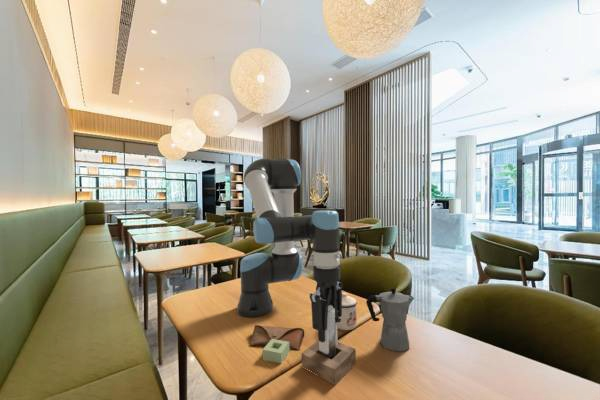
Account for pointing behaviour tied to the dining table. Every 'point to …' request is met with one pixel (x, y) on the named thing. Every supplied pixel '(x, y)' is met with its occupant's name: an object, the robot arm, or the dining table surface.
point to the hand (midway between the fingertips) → (328, 347)
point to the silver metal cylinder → (331, 332)
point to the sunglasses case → (277, 336)
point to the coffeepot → (392, 318)
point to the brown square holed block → (329, 362)
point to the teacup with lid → (348, 313)
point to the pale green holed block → (276, 351)
